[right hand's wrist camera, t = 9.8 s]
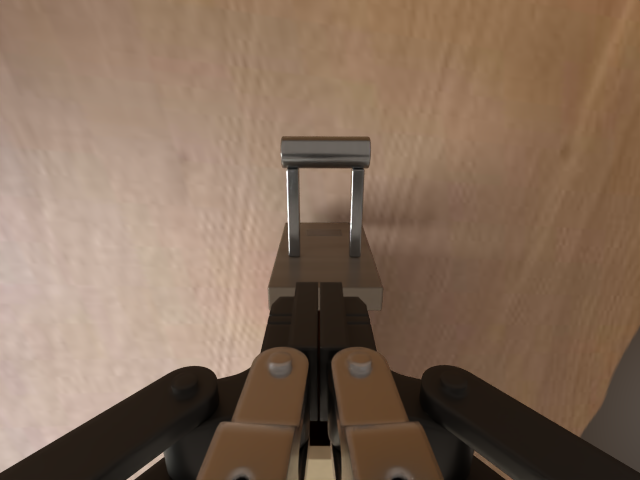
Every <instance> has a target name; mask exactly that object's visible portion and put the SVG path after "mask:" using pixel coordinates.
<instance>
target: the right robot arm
mask: <svg viewBox="0 0 640 480" xmlns="http://www.w3.org/2000/svg"><path fill="white" fill-rule="evenodd" d="M310 421H318V282H296V288H295V295H294V296H280V297H279V298H278V299H277V300H276V301H275V302H274V303H273V304H272V306H271V310H270V314H269V318H268V324H267V327H266V331H265V336H264V340H263V344H262V349H261V353H260V354H259V355H258V356H257V357H256V358H255V359H254V361H253V363H252V365H251V367H250V368H249V369H247V370H246V371H244V372H242V373H239V374H237V375H233V376H229V377H225V378H221V379H217V377H216V375H215V374H214V372H213V371H211V370H210V369H208V368H205V367H201V366H188V367H183V368H180V369H177V370H174V371H172V372H170V373H168V374H167V375H165V376H163V377H162V378H160V379H158V380H157V381H155V382H153V383H152V384H150V385H148V386H147V387H145V388H143V389H141V390H140V391H138V392H136V393H135V394H133V395H131V396H130V397H128V398H126V399H125V400H123V401H121V402H119V403H118V404H116V405H114V406H113V407H111V408H109V409H108V410H106V411H104V412H103V413H101V414H99V415H98V416H96V417H94V418H92V419H91V420H89V421H87V422H86V423H84V424H82V425H81V426H79V427H77V428H76V429H74V430H72V431H71V432H69V433H67V434H65V435H64V436H62V437H60V438H59V439H57V440H55V441H54V442H52V443H50V444H49V445H47V446H45V447H43V448H42V449H40V450H38V451H37V452H35V453H33V454H32V455H30V456H28V457H27V458H25V459H23V460H22V461H20V462H18V463H16V464H15V465H13V466H11V467H10V468H8V469H6V470H5V471H3V472H1V473H0V480H127V479H128V478H129V477H131V476H132V475H133V474H134V473H136V472H137V471H138V470H140V469H141V468H142V467H144V466H145V465H146V464H148V463H149V462H150V461H152V460H153V459H154V458H156V457H157V456H158V455H160V454H161V453H162V452H164V458H162V459H161V460H160V461H158V462H157V463H156V464H154V465H153V466H152V467H150V468H149V469H148V470H146V471H145V472H144V473H143V474H141V475H140V476H139V477H137V478H136V479H135V480H306V476H307V468H308V459H309V450H310V436H309V431H310ZM320 421H328V436H329V439H330V450H331V459H332V468H333V476H334V480H505V479H504V478H503V477H501V476H500V475H499V474H497V473H496V472H495V471H493V470H492V469H491V468H490V467H488V466H487V465H486V464H484V463H483V462H482V461H480V460H479V459H478V458H476V457H475V456H474V455H473V453H474V450H475V451H476V452H478V453H479V454H480V455H482V456H483V457H484V458H486V459H487V460H488V461H490V462H491V463H492V464H494V465H495V466H496V467H498V468H499V469H500V470H501V471H503V472H504V473H505V474H507V475H508V476H509V477H511V478H512V479H513V480H640V473H639V472H637V471H635V470H634V469H632V468H630V467H629V466H627V465H625V464H624V463H622V462H620V461H618V460H617V459H615V458H613V457H612V456H610V455H608V454H607V453H605V452H603V451H602V450H600V449H598V448H596V447H595V446H593V445H591V444H590V443H588V442H586V441H585V440H583V439H581V438H580V437H578V436H576V435H575V434H573V433H571V432H569V431H568V430H566V429H564V428H563V427H561V426H559V425H558V424H556V423H554V422H553V421H551V420H549V419H548V418H546V417H544V416H542V415H541V414H539V413H537V412H536V411H534V410H532V409H531V408H529V407H527V406H526V405H524V404H522V403H520V402H519V401H517V400H515V399H514V398H512V397H510V396H509V395H507V394H505V393H504V392H502V391H500V390H499V389H497V388H495V387H493V386H492V385H490V384H488V383H487V382H485V381H483V380H482V379H480V378H478V377H477V376H475V375H473V374H472V373H470V372H468V371H466V370H464V369H461V368H458V367H455V366H449V365H439V366H434V367H431V368H429V369H427V370H426V371H425V372H424V374H423V375H422V380H420V379H416V378H412V377H408V376H404V375H400V374H398V373H395V372H393V371H391V370H390V368H389V365H388V363H387V361H386V359H385V358H384V357H383V356H382V355H381V354H380V353H378V352H377V350H376V346H375V341H374V337H373V333H372V328H371V324H370V319H369V316H368V310H367V306H366V304H365V303H364V302H363V301H362V300H361V299H360V298H359V297H344V296H343V287H342V282H320Z"/></svg>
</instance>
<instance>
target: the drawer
mask: <svg viewBox="0 0 640 480" xmlns="http://www.w3.org/2000/svg"><path fill="white" fill-rule="evenodd" d="M370 157H371V142H370V137H326V136H283V137H282V138H281V164H282V167H283V168H287V170H286V174H287V210H288V223H285V227H284V231H283V234H282V238H281V242H280V245H279V249H278V252H277V256H276V260H275V263H274V267H273V271H272V274H271V278H270V282H269V285H268V302H269V310H271V306H272V304H273V303H274V302H275V301H276V300H277V299H278V298H279V297H280V296H294V295H295V288H296V282H318V421H310V431H309V436H310V446H330V439H329V436H328V421H320V282H342V287H343V296H344V297H359V298H360V299H361V300H362V301H363V302H364V303H365V304H366V306H367V310H382V300H383V286H382V283H381V280H380V277H379V274H378V271H377V268H376V265H375V262H374V259H373V256H372V253H371V250H370V247H369V244H368V241H367V238H366V235H365V232H364V229H363V226H362V215H363V192H364V168H369V165H370ZM299 168H352V169H351V197H350V223H300V187H299Z"/></svg>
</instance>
